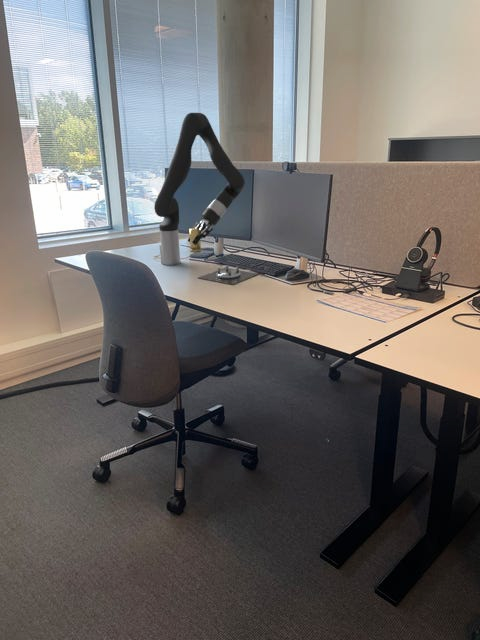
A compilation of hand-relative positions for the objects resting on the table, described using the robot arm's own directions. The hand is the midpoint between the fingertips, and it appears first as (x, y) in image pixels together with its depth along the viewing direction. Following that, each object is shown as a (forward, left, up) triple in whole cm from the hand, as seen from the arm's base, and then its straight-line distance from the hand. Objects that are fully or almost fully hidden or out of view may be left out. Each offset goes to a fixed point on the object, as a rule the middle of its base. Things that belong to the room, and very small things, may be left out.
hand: (191, 242), depth 202 cm
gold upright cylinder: (+1, +2, -4) cm, 5 cm away
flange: (+12, +10, -16) cm, 23 cm away
